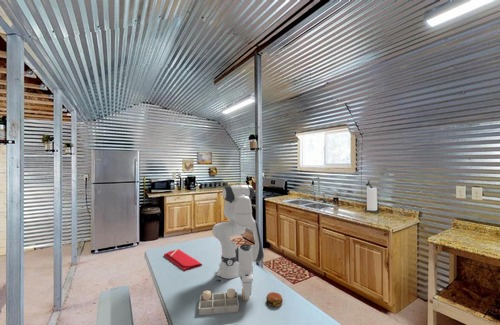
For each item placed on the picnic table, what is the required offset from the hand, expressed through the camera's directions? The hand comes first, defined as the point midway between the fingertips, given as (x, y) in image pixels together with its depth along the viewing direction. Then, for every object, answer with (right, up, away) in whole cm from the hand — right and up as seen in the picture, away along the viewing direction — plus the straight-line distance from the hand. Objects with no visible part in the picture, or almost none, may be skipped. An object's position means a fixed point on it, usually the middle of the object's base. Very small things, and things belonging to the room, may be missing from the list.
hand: (245, 295), depth 143 cm
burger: (+17, -2, -3) cm, 18 cm away
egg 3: (0, -2, 0) cm, 2 cm away
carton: (-15, -2, -7) cm, 17 cm away
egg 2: (-9, -2, -3) cm, 9 cm away
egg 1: (-23, -2, -5) cm, 23 cm away
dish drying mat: (-55, -4, +58) cm, 80 cm away
